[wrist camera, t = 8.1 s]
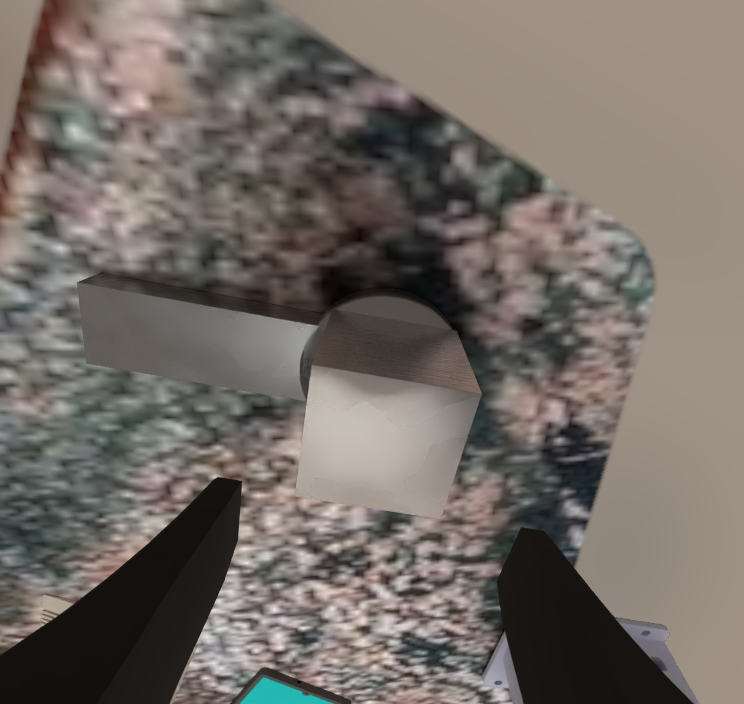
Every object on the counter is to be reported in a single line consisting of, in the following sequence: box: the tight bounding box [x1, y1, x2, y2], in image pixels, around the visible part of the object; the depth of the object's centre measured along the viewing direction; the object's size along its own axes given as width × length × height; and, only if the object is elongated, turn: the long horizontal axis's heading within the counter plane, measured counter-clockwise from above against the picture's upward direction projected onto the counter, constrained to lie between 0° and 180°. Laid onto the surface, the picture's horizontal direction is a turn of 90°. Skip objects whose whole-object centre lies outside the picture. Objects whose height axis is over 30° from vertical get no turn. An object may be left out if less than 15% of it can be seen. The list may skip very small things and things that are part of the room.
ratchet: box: [77, 273, 454, 401], centre depth 17 cm, size 16×7×4 cm, turn 80°
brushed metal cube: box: [295, 309, 482, 519], centre depth 16 cm, size 5×5×5 cm
